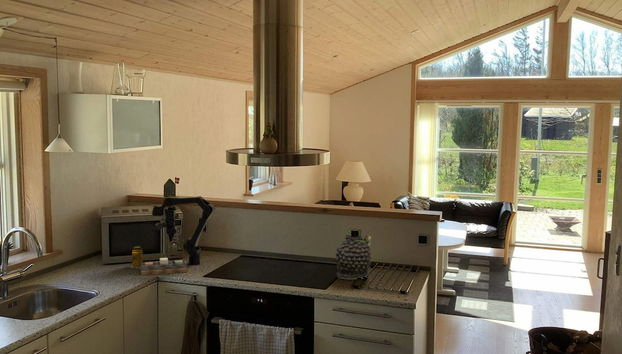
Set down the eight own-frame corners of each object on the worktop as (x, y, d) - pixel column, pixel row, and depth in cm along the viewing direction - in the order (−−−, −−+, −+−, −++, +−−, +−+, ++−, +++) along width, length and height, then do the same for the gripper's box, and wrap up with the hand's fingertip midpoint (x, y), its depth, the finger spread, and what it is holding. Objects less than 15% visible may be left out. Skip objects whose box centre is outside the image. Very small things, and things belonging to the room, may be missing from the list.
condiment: (129, 267, 350) (128, 247, 348) (138, 264, 358) (137, 244, 356) (139, 268, 347) (139, 248, 346) (148, 265, 355) (147, 245, 354)
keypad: (185, 266, 354) (185, 258, 354) (187, 272, 341) (187, 264, 340) (140, 269, 346) (140, 261, 346) (141, 275, 333) (141, 267, 332)
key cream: (167, 262, 346) (167, 257, 345) (168, 264, 342) (168, 259, 341) (159, 263, 344) (159, 258, 344) (160, 265, 340) (160, 260, 340)
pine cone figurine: (364, 272, 344) (365, 231, 341) (374, 279, 330) (375, 236, 327) (331, 275, 338) (331, 232, 335) (340, 282, 323) (341, 238, 321)
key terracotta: (152, 266, 343) (152, 261, 343) (153, 268, 339) (153, 263, 339) (145, 267, 342) (144, 262, 342) (145, 269, 338) (145, 264, 338)
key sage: (182, 265, 349) (182, 260, 348) (182, 266, 344) (182, 261, 344) (174, 265, 347) (174, 260, 347) (175, 267, 343) (175, 262, 343)
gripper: (155, 215, 365) (155, 239, 367) (157, 220, 348) (157, 245, 349) (173, 214, 369) (174, 238, 370) (176, 219, 351) (176, 244, 353)
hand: (170, 242), depth 361 cm, fingers closed
